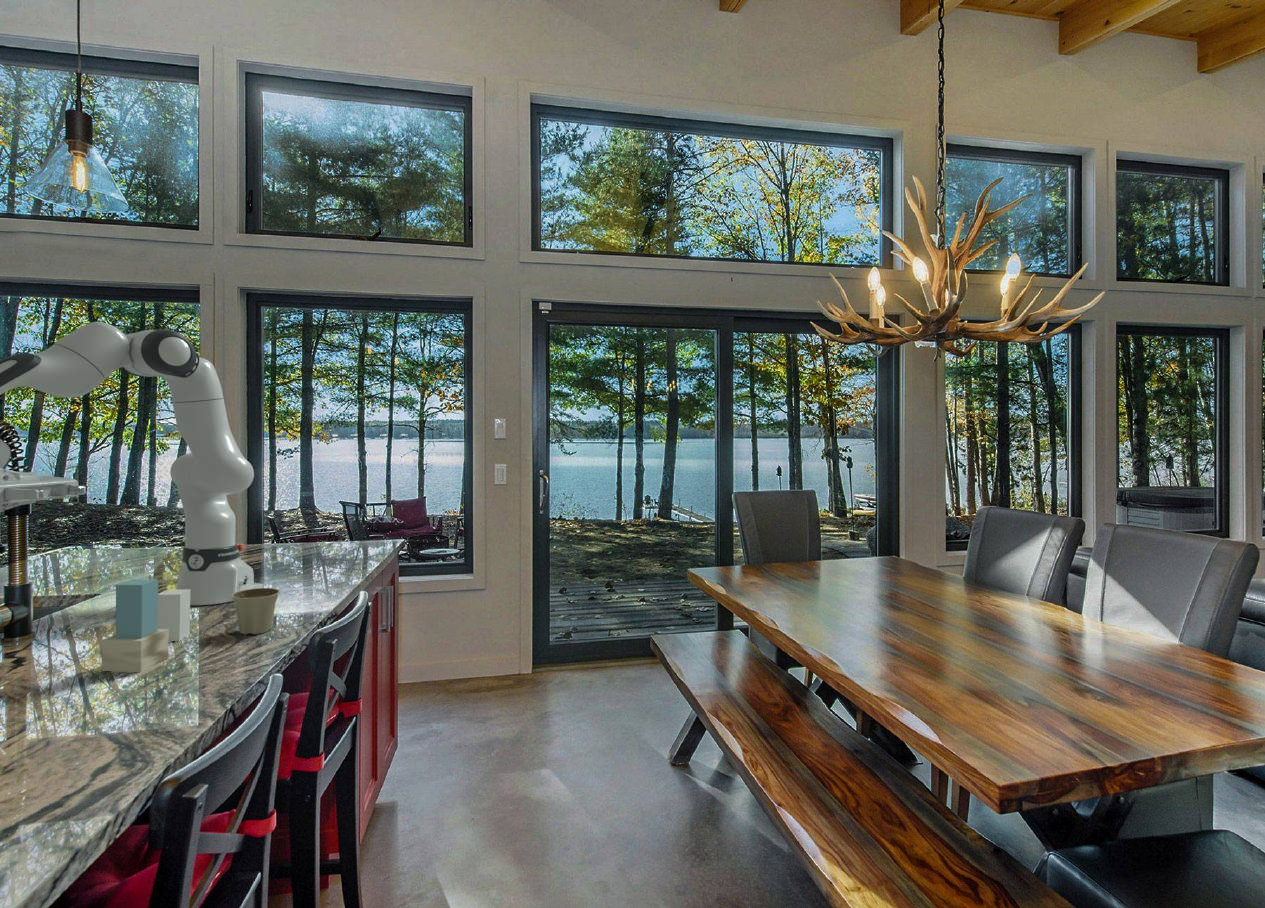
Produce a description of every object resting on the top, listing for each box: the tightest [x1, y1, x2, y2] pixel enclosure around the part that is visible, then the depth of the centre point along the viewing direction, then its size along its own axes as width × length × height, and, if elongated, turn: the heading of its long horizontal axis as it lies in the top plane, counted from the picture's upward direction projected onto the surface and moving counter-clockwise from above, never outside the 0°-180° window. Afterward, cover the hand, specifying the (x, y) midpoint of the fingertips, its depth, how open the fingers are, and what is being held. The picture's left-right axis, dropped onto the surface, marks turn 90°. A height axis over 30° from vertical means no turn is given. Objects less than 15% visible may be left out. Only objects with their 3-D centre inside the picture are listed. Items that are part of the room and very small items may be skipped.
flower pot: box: [231, 587, 281, 635], centre depth 140 cm, size 9×9×9 cm
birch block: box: [101, 629, 169, 673], centre depth 117 cm, size 7×7×6 cm
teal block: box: [115, 578, 159, 638], centre depth 117 cm, size 4×4×10 cm
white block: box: [158, 589, 191, 642], centre depth 133 cm, size 4×4×10 cm
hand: (62, 492), depth 120 cm, fingers open, 8 cm apart
